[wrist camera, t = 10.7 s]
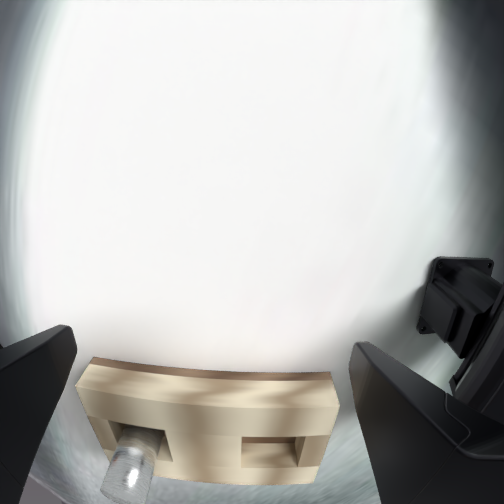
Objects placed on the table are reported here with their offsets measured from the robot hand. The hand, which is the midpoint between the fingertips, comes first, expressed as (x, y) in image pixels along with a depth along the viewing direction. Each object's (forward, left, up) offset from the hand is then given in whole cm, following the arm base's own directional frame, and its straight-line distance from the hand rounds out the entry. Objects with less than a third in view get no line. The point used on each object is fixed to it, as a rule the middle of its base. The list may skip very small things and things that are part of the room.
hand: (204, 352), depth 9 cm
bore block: (+2, +17, -12) cm, 21 cm away
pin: (+7, +17, -11) cm, 22 cm away
